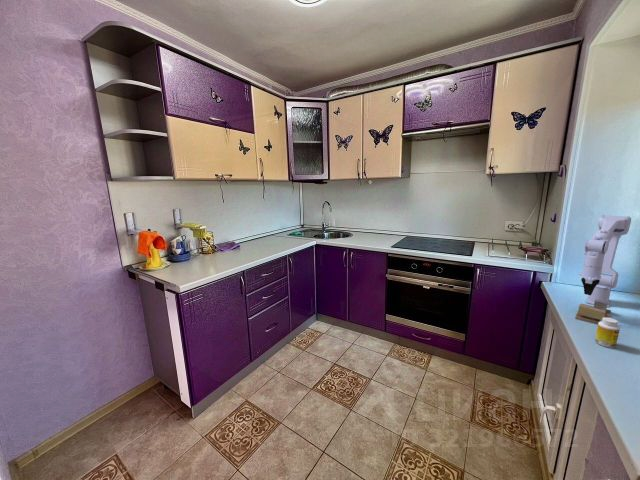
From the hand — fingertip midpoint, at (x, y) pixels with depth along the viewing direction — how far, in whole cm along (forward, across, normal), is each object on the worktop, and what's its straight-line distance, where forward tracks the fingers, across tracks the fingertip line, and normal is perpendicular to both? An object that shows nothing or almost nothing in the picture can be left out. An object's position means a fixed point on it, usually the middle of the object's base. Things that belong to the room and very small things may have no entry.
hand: (587, 294), depth 119 cm
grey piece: (+9, -2, +4) cm, 11 cm away
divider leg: (+9, +5, +2) cm, 10 cm away
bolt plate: (+10, -2, +3) cm, 11 cm away
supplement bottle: (+10, +24, +8) cm, 27 cm away
